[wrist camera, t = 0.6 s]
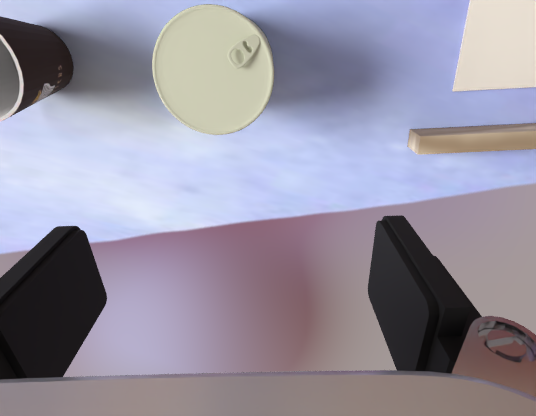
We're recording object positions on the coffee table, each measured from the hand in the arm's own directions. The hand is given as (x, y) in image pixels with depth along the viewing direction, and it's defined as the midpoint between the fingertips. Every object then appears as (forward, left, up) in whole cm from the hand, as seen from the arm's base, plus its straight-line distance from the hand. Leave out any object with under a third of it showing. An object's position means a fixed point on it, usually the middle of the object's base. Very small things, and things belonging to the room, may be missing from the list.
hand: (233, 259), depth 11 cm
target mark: (-6, +27, -29) cm, 41 cm away
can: (-4, -3, -30) cm, 30 cm away
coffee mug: (-5, -24, -30) cm, 38 cm away
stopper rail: (+5, +27, -29) cm, 40 cm away
